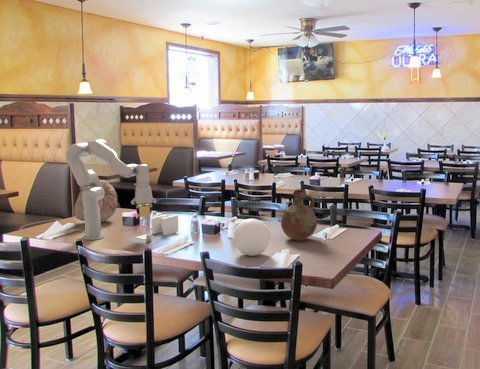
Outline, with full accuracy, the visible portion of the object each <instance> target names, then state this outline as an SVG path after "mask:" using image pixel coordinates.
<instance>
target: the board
mask: <svg viewBox="0 0 480 369" xmlns="http://www.w3.org/2000/svg"><path fill="white" fill-rule="evenodd" d="M168 240H170V238H168V237H162V236H158V235H157V236H156V235H154V234H153V235H152V234H147V233H146V234H141V235H138V236H134V237H130V238H125V239H124V241H126V242H130V243H135V244H140V245H144V246H150V245H154V244H155V245H156V244H159V243H163V242H166V241H168Z"/></svg>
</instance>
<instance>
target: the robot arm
mask: <svg viewBox="0 0 480 369" xmlns="http://www.w3.org/2000/svg"><path fill="white" fill-rule="evenodd" d="M92 155H94V156H96V157H98V158H99V159H100V160H102V161H103V162H105V163H106V164H107V165H108V166H109V168H110V169H111V170H112V171H113V172H115V173H116V174H117V175H119V176H121V177H122V178H128V179H129V178H131V177H134V176H136V177H135V178H136V182H135V183H133V185H134V186H136V187H135V191H134V198H133V199H132V200H131V201H130V204H131V205H132V206H134V207H135V209H136V214H137V215H138V216H139V205H143V204H149V206H150V215H151V214H152V212H153V209H152V208H153V206H154V205H155V204H156V203H157V202H158V200H157V199H156V198H155V197H153V192H152V187H151V186H150V174H149V172H150V169H149V165H148V164H146V163H145V164H143V163H142V164H141V163H140V164H136V163H130V164H125V163H124V162H123V161H121V160H120V159H119V158H118V155H117V152H116V151H114V150H113V149H112V148H110V147H109V145H108V142H107V141H106V140H104V139H93V140H91V141H85V142H77V143H73V144H70V146H69V147H68V148H67V149H66V152H65V159H66V162H67V163H68V166H69V168H70V170H71V172H72V175H73V176H74V179H75V180H76V183H77V185H78V186H79V187H81V188H85V187H87V188H88V189H86V190H85V191H84V192H83V193H82V201H83V206H84V219H85V221H84V230H83V231H82V233H83V234H84V235H82V239H83V240H86V241H94V240H101V239H103V238H104V236H105V235H104V234H103V233H102V222H100V208H99V204H98V201H99V200H101V199H103V197H104V195H105V192H104V189H103V186H102V184H101V182H100V180H101V179H100V178H99V175H98V174H97V173H96V172H95V171H94V170H88V169H87V166H86V165H85V163H84V161H83V160H82V159H81V157H87V156H92Z"/></svg>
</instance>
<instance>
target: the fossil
mask: <svg viewBox="0 0 480 369" xmlns="http://www.w3.org/2000/svg"><path fill="white" fill-rule="evenodd" d="M99 180H100V182H101V184H102V186H103V189H104V192H105V195H104V197H103V199H101V200H99V201H98V204H99V208H100V222H101V223H103V222H106V221H108V220H109V219H111V218H112V216H114V214H115V213H116V210H117V207H118V203H119V202H118V194H117V192H116V189H115V188H114V186H113V185H112V184H110V182H107V181H105V180H103V179H99ZM86 189H88V188H87V187H83V189H82V190H81V191H80V192H79V194H78V197H77V199H76V201H75V203H74V217H75V218H76V219H77V220H80V221H82V222H85V219H84V206H83V201H82V193H83V192H84V191H85V190H86Z"/></svg>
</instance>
